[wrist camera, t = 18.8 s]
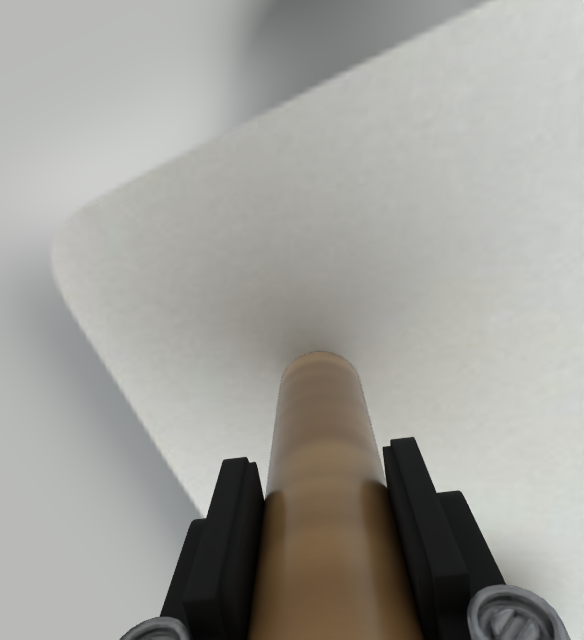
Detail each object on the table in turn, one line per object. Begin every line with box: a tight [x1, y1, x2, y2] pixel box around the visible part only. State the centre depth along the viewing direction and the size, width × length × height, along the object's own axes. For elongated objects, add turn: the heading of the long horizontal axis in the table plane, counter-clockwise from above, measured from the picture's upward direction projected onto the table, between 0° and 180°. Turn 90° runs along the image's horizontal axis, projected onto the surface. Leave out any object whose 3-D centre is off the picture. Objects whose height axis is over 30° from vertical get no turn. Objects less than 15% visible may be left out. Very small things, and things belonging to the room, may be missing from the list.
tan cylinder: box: [247, 351, 425, 640], centre depth 12 cm, size 3×3×12 cm
